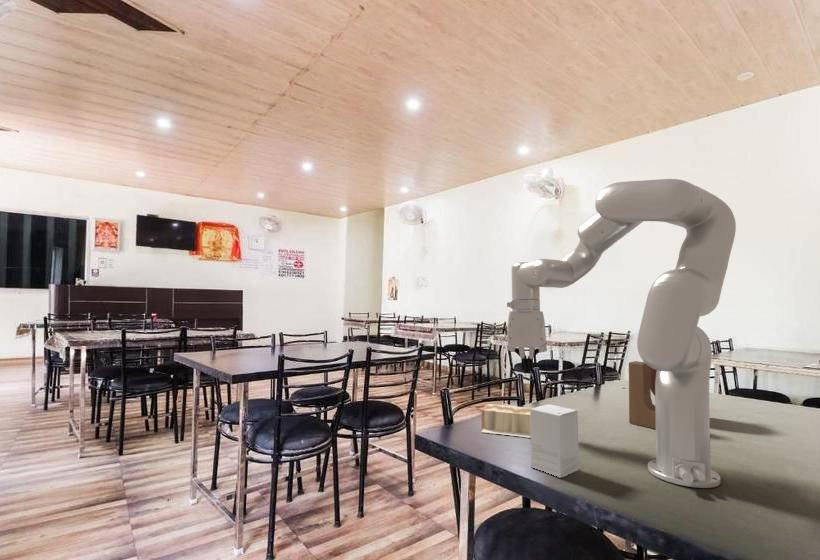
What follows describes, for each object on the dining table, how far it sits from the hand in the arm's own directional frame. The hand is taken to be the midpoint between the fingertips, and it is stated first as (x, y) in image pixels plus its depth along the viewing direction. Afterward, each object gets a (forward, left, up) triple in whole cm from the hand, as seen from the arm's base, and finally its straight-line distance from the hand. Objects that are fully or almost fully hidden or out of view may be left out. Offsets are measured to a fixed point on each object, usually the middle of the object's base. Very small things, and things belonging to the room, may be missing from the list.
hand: (527, 372), depth 118 cm
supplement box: (-26, -8, -16) cm, 31 cm away
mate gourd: (+32, -43, -16) cm, 56 cm away
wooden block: (+18, -33, -16) cm, 41 cm away
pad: (0, +4, -16) cm, 17 cm away
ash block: (0, -4, -13) cm, 14 cm away
